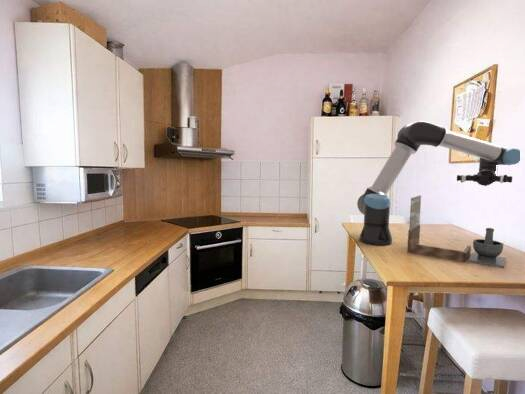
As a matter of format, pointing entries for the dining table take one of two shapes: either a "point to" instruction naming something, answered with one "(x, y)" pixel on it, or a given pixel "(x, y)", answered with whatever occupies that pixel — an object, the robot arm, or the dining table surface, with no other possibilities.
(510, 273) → the dining table surface
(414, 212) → the brown piece
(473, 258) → the slate pad
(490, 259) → the mortar and pestle
